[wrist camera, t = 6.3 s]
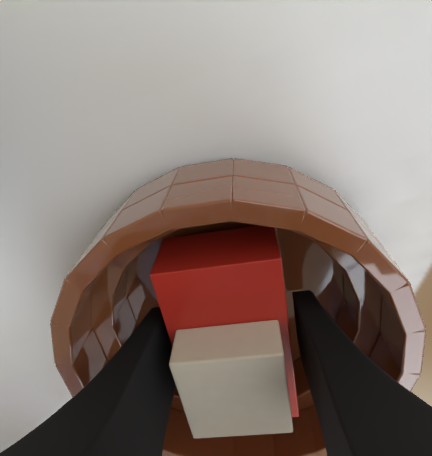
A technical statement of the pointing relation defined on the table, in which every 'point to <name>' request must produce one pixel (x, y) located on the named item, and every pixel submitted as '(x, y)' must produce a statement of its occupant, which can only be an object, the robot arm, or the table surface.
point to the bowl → (293, 280)
